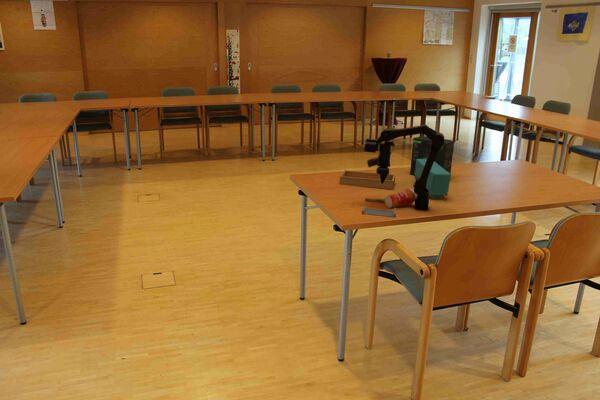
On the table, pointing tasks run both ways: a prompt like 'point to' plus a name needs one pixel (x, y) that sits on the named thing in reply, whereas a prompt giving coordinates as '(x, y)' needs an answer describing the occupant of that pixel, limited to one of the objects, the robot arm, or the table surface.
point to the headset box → (423, 148)
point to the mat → (379, 212)
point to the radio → (434, 179)
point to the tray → (366, 179)
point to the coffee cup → (400, 198)
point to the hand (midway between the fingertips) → (382, 183)
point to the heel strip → (374, 200)
